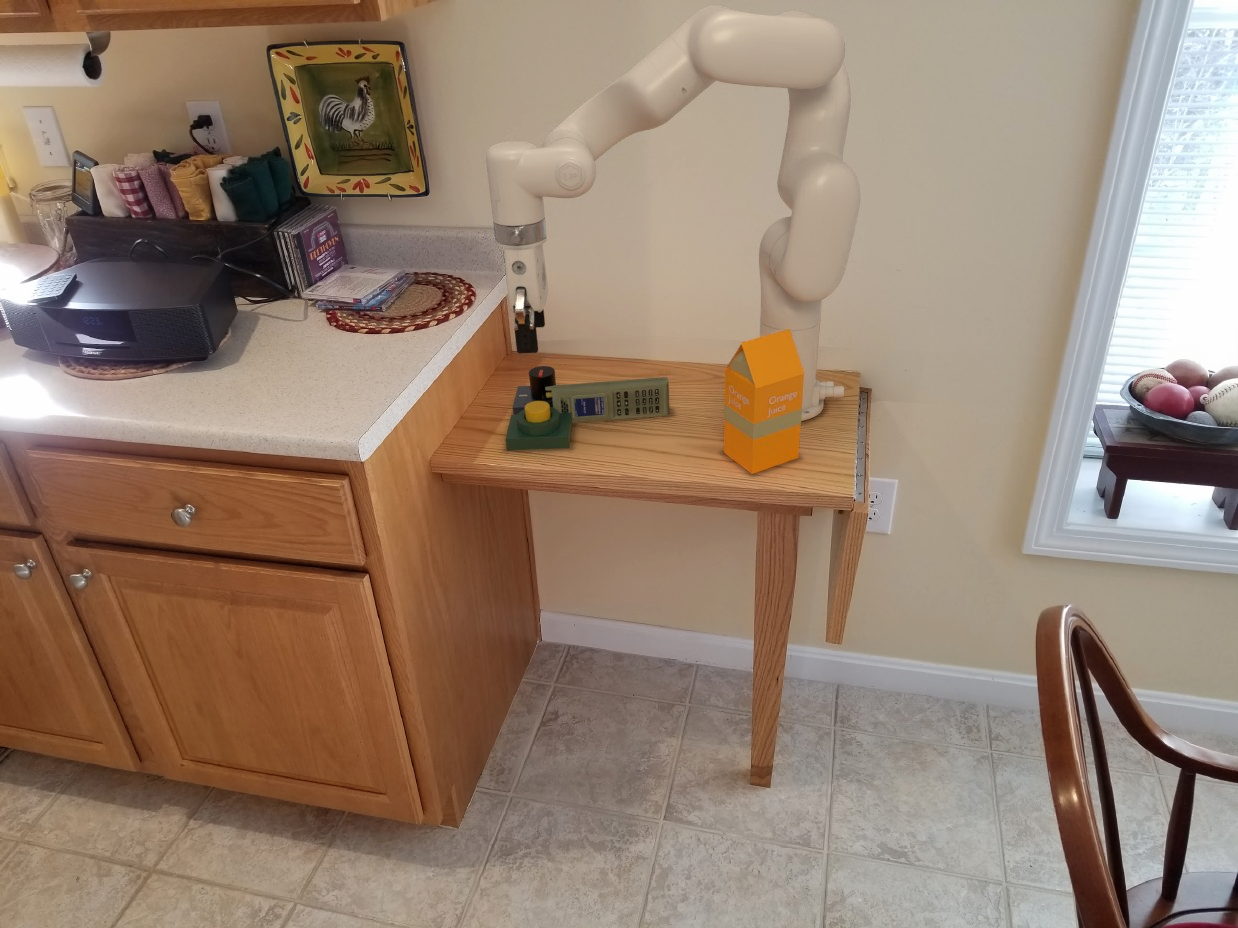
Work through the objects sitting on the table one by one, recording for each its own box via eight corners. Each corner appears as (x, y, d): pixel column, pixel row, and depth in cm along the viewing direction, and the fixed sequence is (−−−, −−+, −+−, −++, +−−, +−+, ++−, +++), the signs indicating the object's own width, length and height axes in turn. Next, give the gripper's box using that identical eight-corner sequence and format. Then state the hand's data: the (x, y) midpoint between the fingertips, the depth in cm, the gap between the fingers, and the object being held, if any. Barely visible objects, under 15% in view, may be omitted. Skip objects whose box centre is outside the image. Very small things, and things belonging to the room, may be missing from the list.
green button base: (572, 424, 152) (570, 402, 149) (569, 448, 145) (567, 426, 143) (512, 426, 152) (510, 405, 150) (507, 450, 145) (504, 428, 143)
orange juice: (722, 452, 141) (724, 333, 131) (769, 436, 145) (774, 320, 134) (752, 474, 136) (756, 352, 125) (799, 458, 139) (807, 337, 128)
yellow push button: (551, 411, 148) (550, 400, 147) (549, 423, 145) (548, 412, 144) (527, 412, 148) (525, 401, 147) (524, 424, 145) (523, 412, 144)
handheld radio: (670, 419, 152) (521, 430, 151) (667, 410, 155) (521, 421, 154) (669, 382, 149) (517, 394, 148) (666, 374, 152) (517, 386, 151)
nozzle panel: (575, 395, 160) (574, 382, 159) (572, 419, 153) (571, 405, 152) (519, 397, 161) (517, 384, 159) (513, 421, 153) (512, 407, 152)
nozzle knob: (532, 389, 157) (530, 364, 155) (558, 389, 157) (555, 363, 155) (529, 401, 154) (527, 375, 151) (555, 400, 153) (553, 375, 151)
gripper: (539, 249, 125) (549, 362, 134) (551, 213, 140) (560, 317, 149) (485, 251, 126) (499, 363, 134) (503, 215, 140) (515, 318, 149)
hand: (531, 339), depth 142 cm, fingers open, 9 cm apart
